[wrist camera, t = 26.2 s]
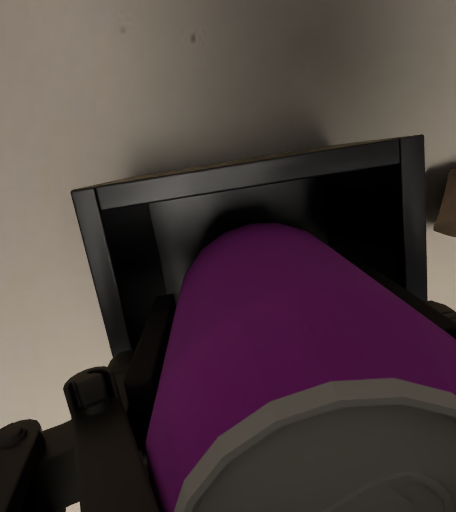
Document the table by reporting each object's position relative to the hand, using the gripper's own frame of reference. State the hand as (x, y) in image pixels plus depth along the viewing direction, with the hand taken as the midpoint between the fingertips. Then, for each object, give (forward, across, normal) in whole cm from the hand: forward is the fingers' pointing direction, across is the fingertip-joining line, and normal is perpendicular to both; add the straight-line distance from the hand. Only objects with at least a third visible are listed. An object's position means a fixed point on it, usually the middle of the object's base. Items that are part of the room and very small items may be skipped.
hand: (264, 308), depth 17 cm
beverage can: (+1, 0, 0) cm, 1 cm away
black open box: (+9, 0, 0) cm, 9 cm away
